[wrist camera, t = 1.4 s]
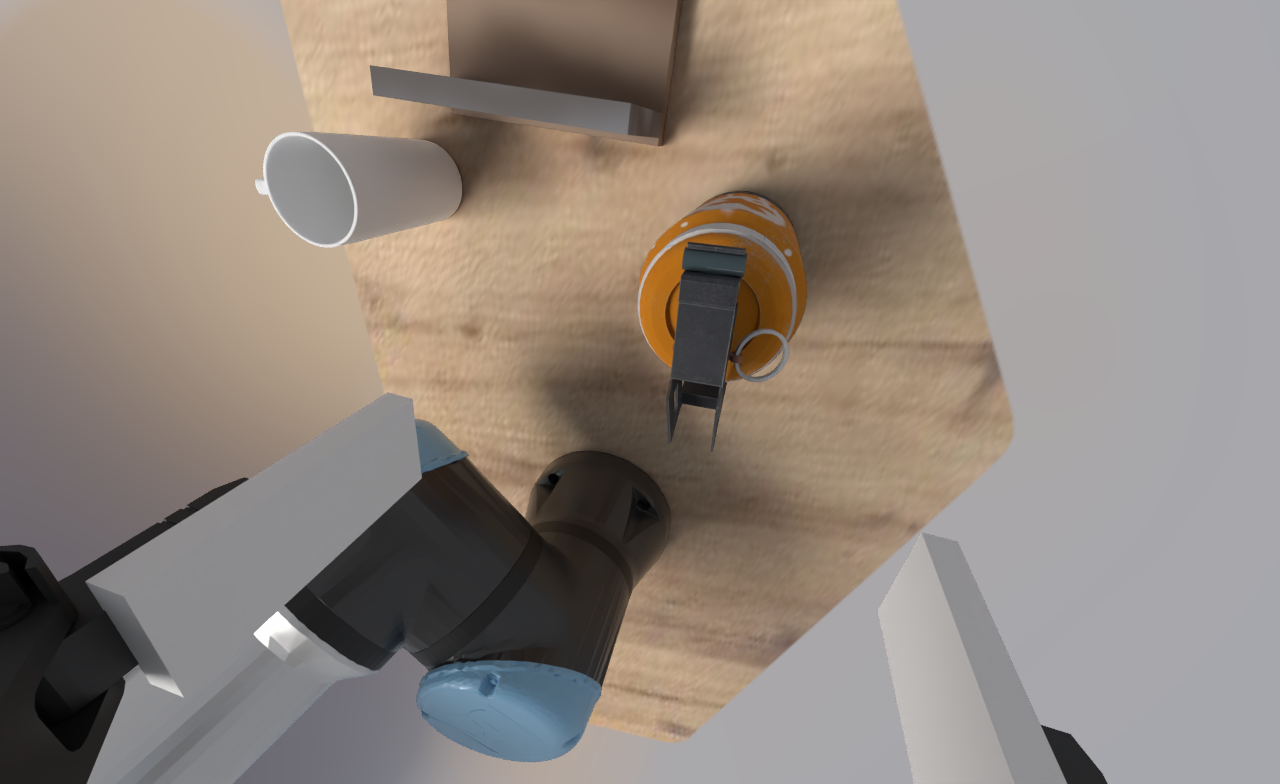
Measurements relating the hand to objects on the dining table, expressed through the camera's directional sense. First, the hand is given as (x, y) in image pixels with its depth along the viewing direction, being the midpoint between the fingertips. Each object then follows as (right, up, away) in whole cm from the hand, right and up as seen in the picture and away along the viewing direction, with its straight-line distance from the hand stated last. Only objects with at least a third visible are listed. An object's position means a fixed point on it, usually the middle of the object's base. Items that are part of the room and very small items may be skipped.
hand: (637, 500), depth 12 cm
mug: (-19, +21, +28) cm, 40 cm away
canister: (+7, +13, +25) cm, 29 cm away
